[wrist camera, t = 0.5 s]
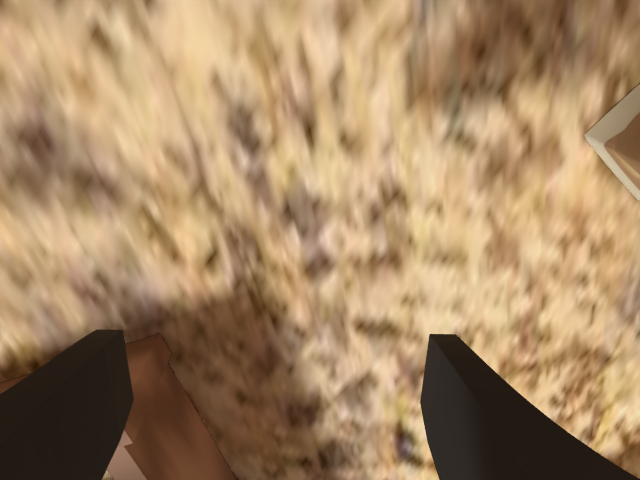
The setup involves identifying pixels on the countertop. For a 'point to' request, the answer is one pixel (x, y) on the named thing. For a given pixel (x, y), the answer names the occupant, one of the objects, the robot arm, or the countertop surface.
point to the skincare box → (620, 140)
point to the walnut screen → (160, 424)
